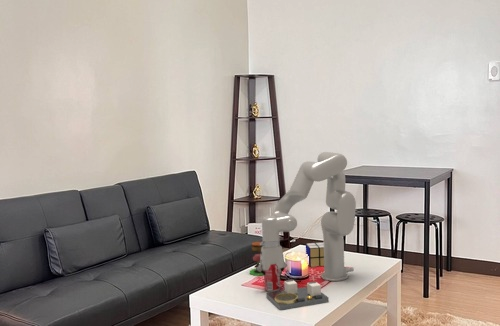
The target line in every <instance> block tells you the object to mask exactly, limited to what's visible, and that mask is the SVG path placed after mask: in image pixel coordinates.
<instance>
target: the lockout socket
mask: <svg viewBox="0 0 500 326" xmlns="http://www.w3.org/2000/svg"><path fill="white" fill-rule="evenodd" d="M283 296H291V297H295V299H293V300H289V301H283V300H279V299H277V298H279V297H283ZM297 299H298V296H297V295H296V294H293V293H281V294H278V295H276V296H275V301H276V302H277V303H281V304H291V303H295V302H297Z"/></svg>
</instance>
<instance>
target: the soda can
mask: <svg viewBox="0 0 500 326" xmlns="http://www.w3.org/2000/svg"><path fill="white" fill-rule="evenodd" d="M264 272H266V276H265V275H263V278H264V279H263V281H266V283H265V282H264V290H265V291H266V292H267V293H270V292H277V291H280V290H281V287H282V286H281V280H280V270H279V269H278V266H277V265H276V263H275V264H270V267H269V270H264Z"/></svg>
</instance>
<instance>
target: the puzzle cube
mask: <svg viewBox="0 0 500 326" xmlns="http://www.w3.org/2000/svg"><path fill="white" fill-rule="evenodd" d="M306 254H308V256H309V265H310V266H309V265H308V266H309V267H310V268H318V267H317V266H319V267H320V266H321V267H324V241H323V242H311V243H306V244H305V255H306Z"/></svg>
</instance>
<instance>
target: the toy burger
mask: <svg viewBox="0 0 500 326" xmlns="http://www.w3.org/2000/svg"><path fill="white" fill-rule="evenodd" d="M261 242H262V241H253V242H252V243H251V251H253V252H255V254H254V255H253V256H252V260H253V262H255V263H256V264H255V265H254V268H253V269H250V270H249V274H250V275H252V276H257V277H259V276H261V277H262V276H264V275H263V274H262V273H261V272H259V271H258V270H257V267H258V266H259V264H260V256H261V248H262V247H263V246H262V245H261V246H260V243H261ZM261 270H263V271H264V269H263V268H261Z"/></svg>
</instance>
